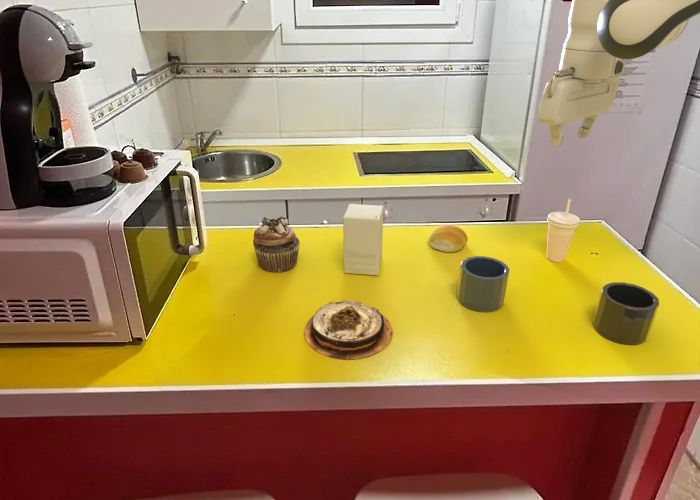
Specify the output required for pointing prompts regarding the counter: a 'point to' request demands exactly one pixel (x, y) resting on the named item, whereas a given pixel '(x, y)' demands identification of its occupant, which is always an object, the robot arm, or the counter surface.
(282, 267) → the cupcake
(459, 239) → the bread roll
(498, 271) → the cup
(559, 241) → the smoothie
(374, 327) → the frosted layer cake
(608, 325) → the cup
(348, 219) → the white packaging box
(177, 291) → the counter surface
